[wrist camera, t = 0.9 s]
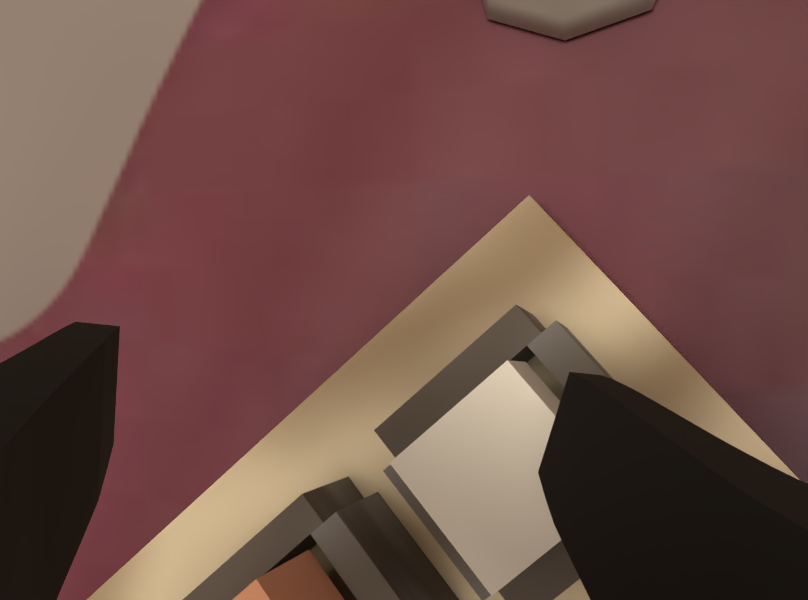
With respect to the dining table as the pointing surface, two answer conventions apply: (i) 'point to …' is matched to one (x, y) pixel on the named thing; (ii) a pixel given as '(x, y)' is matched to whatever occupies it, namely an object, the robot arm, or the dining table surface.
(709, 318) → the dining table surface
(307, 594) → the terracotta button
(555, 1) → the flask
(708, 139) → the dining table surface
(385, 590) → the button panel
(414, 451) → the offwhite button
